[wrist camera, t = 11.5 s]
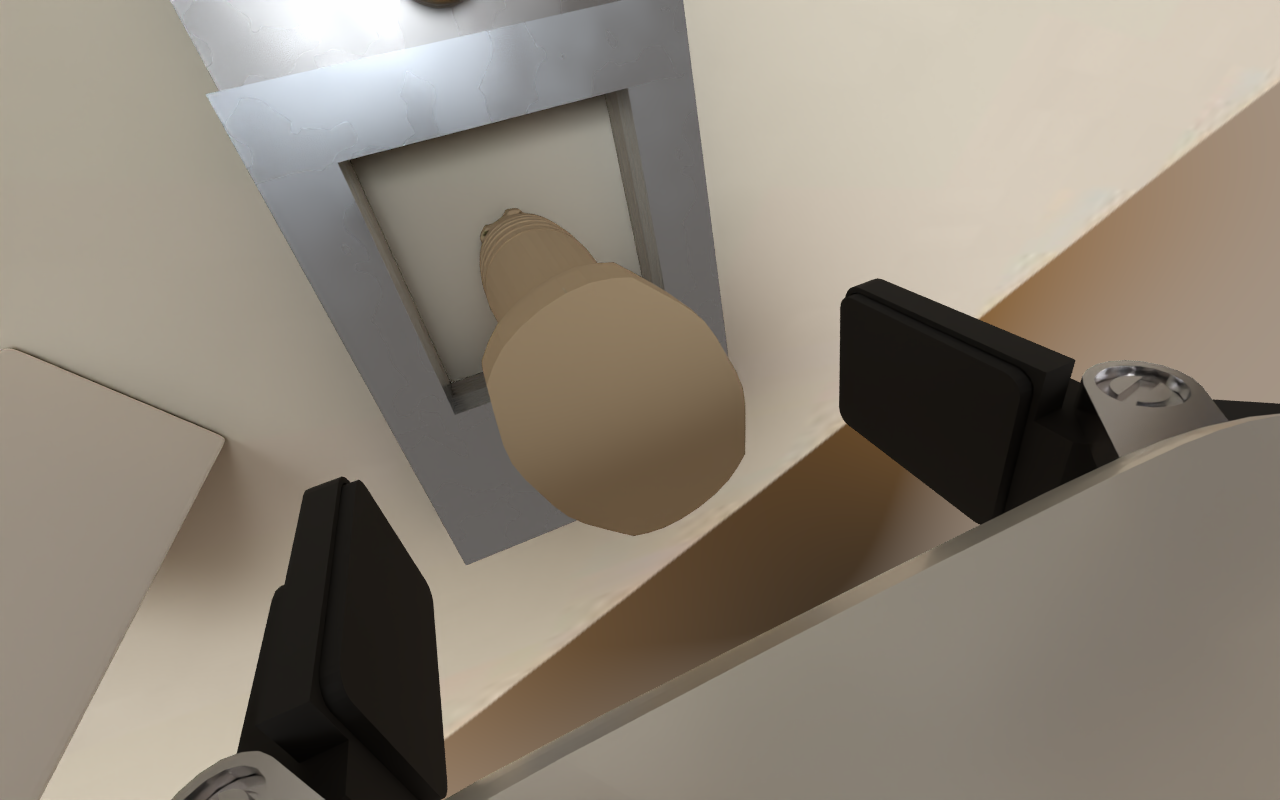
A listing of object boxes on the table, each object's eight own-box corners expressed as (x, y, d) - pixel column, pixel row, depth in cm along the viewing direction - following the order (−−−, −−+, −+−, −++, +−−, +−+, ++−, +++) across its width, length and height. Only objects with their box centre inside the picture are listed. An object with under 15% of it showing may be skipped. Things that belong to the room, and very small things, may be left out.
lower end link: (115, -129, 15) (57, -171, 13) (618, -205, 18) (652, -252, 16) (418, 444, 27) (419, 483, 24) (702, 342, 29) (730, 367, 27)
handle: (515, 142, 22) (652, 226, 10) (602, 270, 26) (780, 447, 13) (417, 216, 22) (430, 391, 10) (518, 333, 26) (618, 566, 13)
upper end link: (232, 93, 18) (187, 94, 15) (649, -2, 21) (701, -21, 17) (461, 525, 30) (469, 589, 26) (715, 425, 32) (755, 470, 29)
